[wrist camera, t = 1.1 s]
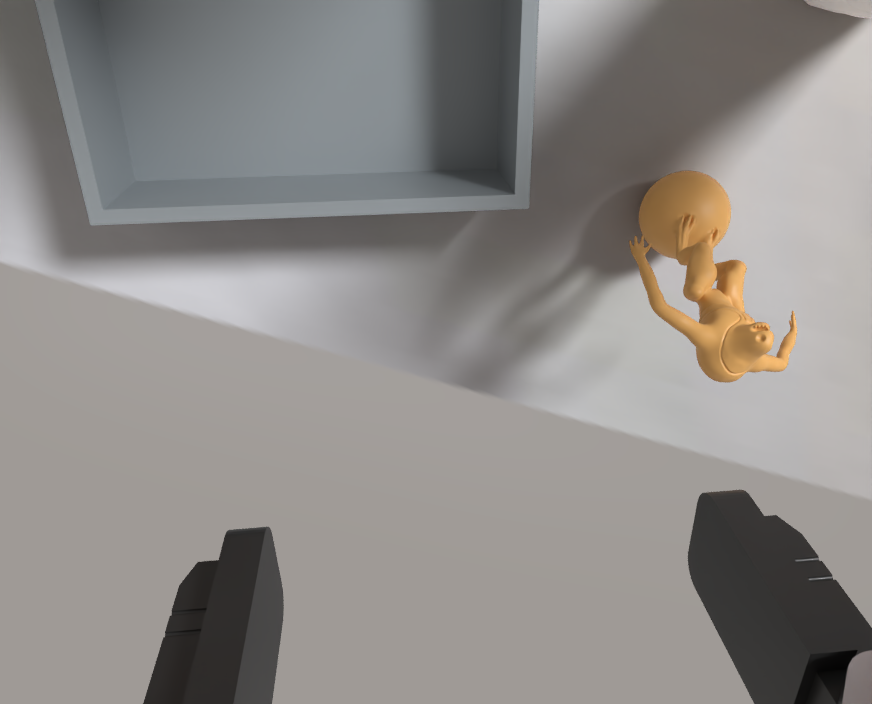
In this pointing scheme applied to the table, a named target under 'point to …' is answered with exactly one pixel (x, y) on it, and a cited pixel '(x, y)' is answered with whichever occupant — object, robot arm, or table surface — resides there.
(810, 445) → the table surface
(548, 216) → the table surface
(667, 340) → the table surface
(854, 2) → the bottle
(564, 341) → the table surface
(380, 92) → the tote
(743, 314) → the figurine
